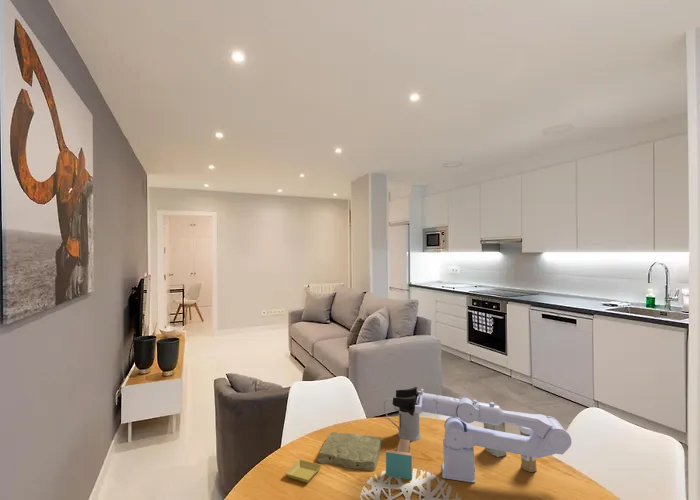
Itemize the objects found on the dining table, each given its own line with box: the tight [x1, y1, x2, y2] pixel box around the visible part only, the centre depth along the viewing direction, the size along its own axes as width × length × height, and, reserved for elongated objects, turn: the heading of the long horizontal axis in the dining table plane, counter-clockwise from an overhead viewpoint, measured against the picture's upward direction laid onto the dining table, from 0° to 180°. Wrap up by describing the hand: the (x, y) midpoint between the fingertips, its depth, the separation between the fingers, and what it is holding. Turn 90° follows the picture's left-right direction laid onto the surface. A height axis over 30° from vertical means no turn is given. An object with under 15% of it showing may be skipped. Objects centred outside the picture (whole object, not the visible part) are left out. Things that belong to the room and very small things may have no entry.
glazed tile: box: [385, 449, 413, 481], centre depth 106 cm, size 8×2×7 cm, turn 75°
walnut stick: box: [396, 438, 411, 453], centre depth 117 cm, size 4×12×4 cm, turn 164°
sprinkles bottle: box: [519, 426, 538, 473], centre depth 111 cm, size 5×5×13 cm
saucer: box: [284, 459, 323, 484], centre depth 107 cm, size 9×9×2 cm
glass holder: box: [383, 398, 422, 442], centre depth 133 cm, size 9×14×15 cm, turn 88°
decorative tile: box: [317, 431, 383, 472], centre depth 120 cm, size 19×20×4 cm
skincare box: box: [483, 422, 507, 458], centre depth 121 cm, size 6×4×12 cm
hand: (394, 397), depth 114 cm, fingers open, 7 cm apart
